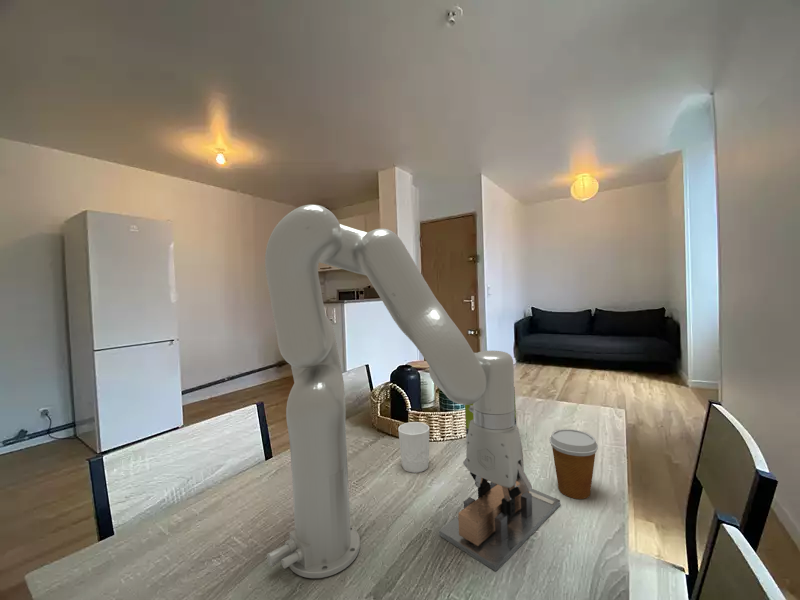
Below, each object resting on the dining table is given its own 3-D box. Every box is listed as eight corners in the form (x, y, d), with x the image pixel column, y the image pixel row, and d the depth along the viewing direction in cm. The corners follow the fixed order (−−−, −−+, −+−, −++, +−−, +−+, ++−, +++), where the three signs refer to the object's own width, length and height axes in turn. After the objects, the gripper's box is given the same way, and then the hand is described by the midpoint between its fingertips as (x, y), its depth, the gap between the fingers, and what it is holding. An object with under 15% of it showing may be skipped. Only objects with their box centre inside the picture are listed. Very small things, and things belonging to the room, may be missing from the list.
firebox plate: (495, 571, 58) (495, 541, 57) (439, 535, 66) (438, 509, 66) (560, 504, 74) (559, 481, 74) (507, 482, 83) (507, 461, 83)
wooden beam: (478, 546, 61) (477, 522, 61) (458, 534, 64) (458, 512, 64) (529, 500, 73) (529, 480, 73) (511, 492, 76) (510, 473, 76)
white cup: (428, 475, 87) (427, 435, 87) (397, 473, 89) (395, 433, 89) (432, 459, 95) (431, 422, 95) (403, 457, 97) (401, 421, 96)
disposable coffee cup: (597, 509, 72) (596, 450, 72) (546, 496, 77) (545, 441, 77) (600, 485, 80) (599, 432, 80) (554, 475, 85) (553, 425, 85)
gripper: (446, 412, 72) (449, 501, 72) (525, 436, 59) (528, 543, 60) (469, 402, 77) (471, 486, 77) (546, 423, 64) (548, 522, 65)
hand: (496, 510), depth 69 cm, fingers open, 4 cm apart
